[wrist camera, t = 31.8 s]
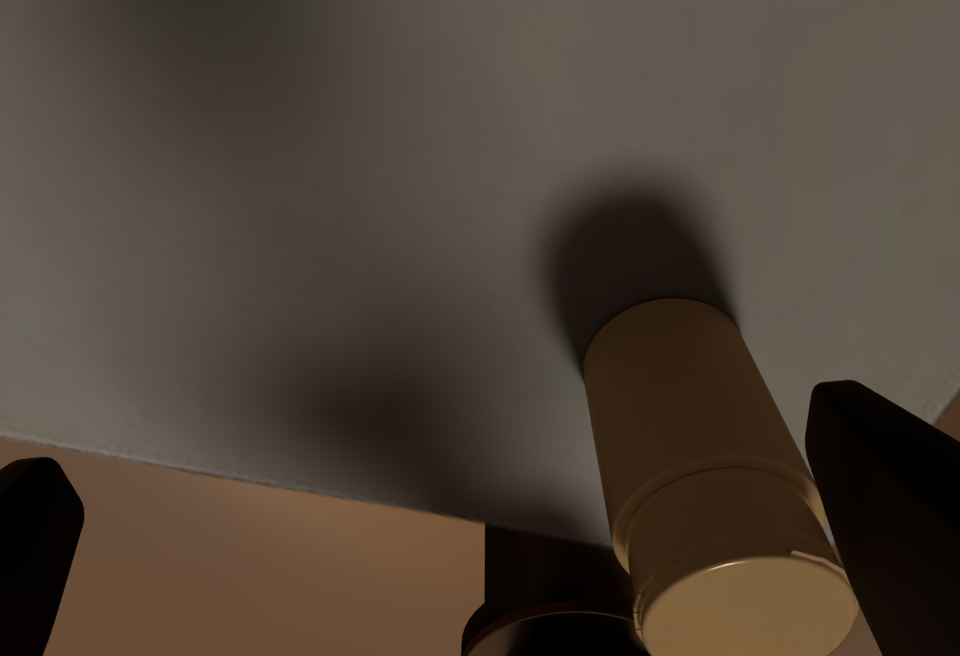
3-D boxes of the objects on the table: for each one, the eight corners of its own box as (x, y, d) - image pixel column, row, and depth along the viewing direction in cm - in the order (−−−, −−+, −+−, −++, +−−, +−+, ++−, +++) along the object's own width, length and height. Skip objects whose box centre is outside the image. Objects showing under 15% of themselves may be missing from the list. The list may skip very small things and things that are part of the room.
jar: (695, 441, 26) (787, 710, 18) (558, 402, 25) (590, 667, 17) (775, 324, 23) (925, 581, 15) (624, 276, 22) (699, 522, 14)
